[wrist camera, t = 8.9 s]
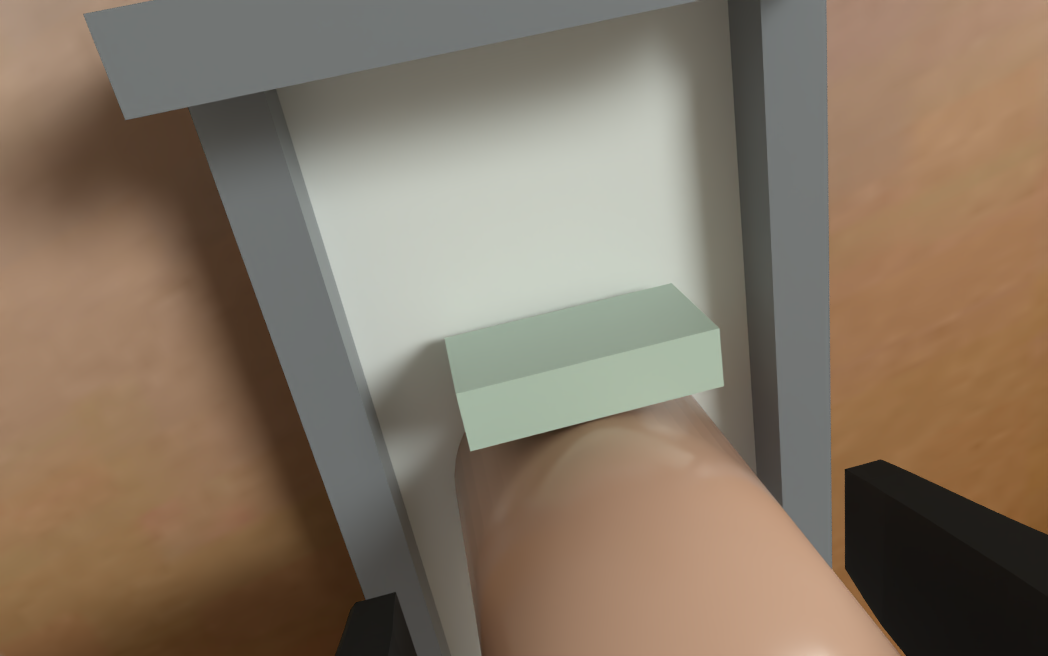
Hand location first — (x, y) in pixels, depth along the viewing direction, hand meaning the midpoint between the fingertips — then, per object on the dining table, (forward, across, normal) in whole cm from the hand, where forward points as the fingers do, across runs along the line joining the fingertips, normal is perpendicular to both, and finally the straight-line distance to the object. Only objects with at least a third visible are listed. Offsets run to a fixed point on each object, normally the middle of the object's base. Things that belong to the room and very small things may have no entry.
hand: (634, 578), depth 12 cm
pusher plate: (+3, 0, -3) cm, 4 cm away
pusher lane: (+4, 0, +1) cm, 4 cm away
